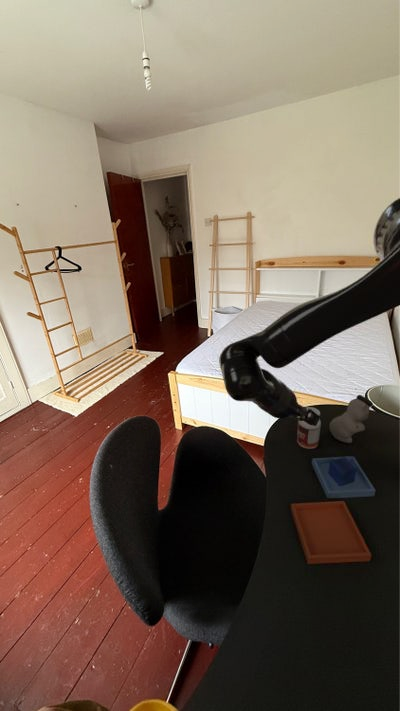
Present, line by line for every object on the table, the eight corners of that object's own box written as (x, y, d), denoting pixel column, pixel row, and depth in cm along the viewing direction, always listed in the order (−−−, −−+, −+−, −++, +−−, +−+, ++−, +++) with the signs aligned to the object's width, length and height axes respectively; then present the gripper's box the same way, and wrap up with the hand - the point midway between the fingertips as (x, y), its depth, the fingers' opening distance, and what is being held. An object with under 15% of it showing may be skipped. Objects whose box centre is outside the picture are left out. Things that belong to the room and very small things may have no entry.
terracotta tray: (342, 506, 70) (343, 500, 69) (369, 561, 59) (371, 554, 58) (290, 509, 70) (291, 503, 69) (307, 564, 59) (308, 558, 58)
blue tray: (352, 461, 82) (353, 456, 81) (374, 496, 72) (375, 490, 71) (311, 463, 82) (312, 458, 81) (327, 498, 72) (328, 493, 71)
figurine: (364, 452, 84) (373, 408, 78) (326, 441, 89) (332, 400, 83) (366, 433, 91) (374, 392, 85) (330, 424, 96) (336, 385, 90)
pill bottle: (292, 438, 92) (295, 408, 87) (310, 433, 93) (313, 403, 88) (303, 451, 86) (306, 420, 81) (322, 447, 87) (326, 415, 83)
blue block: (342, 469, 79) (344, 456, 77) (354, 481, 75) (357, 469, 73) (328, 473, 78) (330, 460, 76) (339, 486, 74) (341, 473, 72)
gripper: (311, 392, 62) (329, 412, 74) (254, 373, 71) (278, 393, 83) (297, 425, 61) (317, 440, 73) (241, 401, 70) (267, 417, 82)
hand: (296, 415), depth 78 cm, fingers open, 8 cm apart
